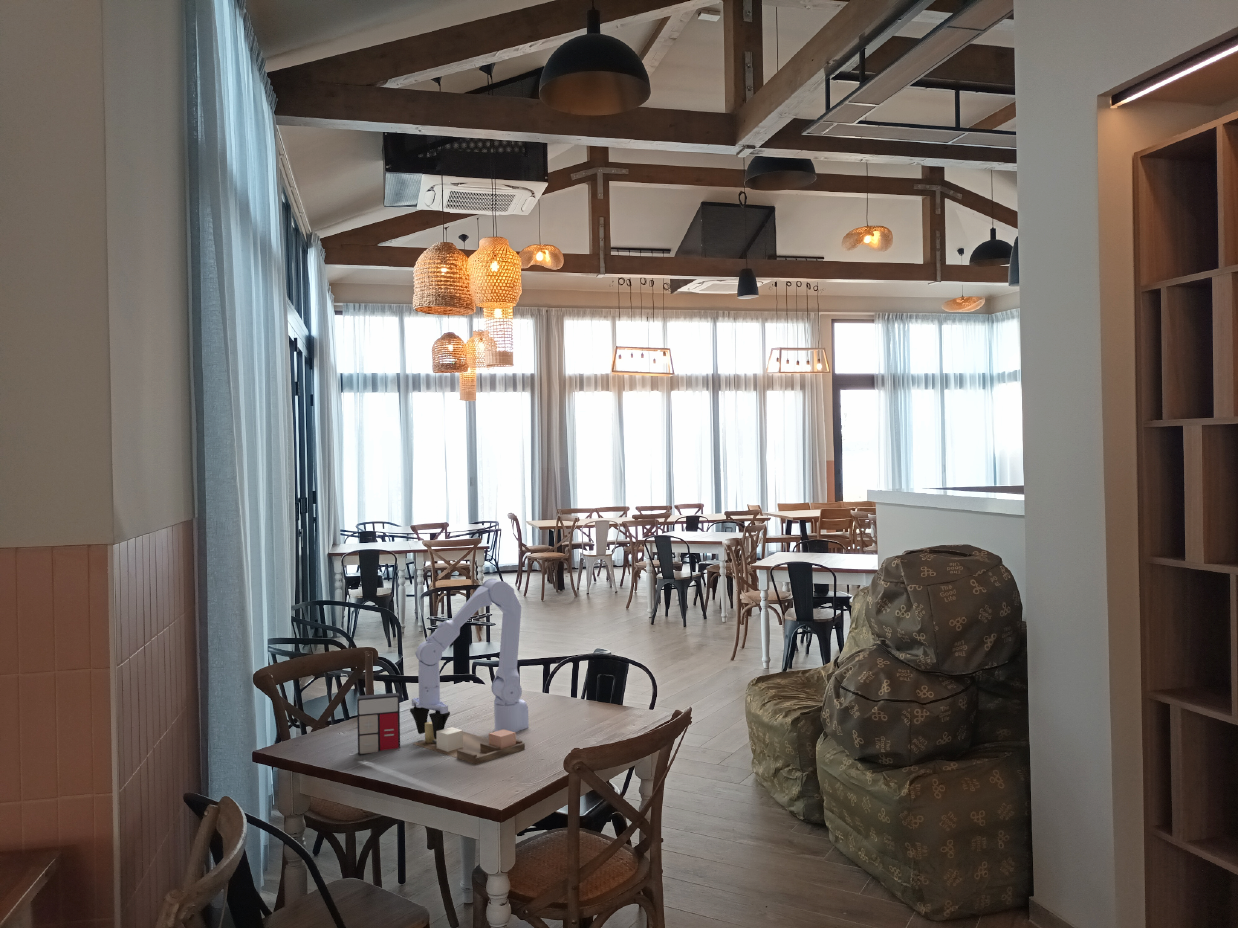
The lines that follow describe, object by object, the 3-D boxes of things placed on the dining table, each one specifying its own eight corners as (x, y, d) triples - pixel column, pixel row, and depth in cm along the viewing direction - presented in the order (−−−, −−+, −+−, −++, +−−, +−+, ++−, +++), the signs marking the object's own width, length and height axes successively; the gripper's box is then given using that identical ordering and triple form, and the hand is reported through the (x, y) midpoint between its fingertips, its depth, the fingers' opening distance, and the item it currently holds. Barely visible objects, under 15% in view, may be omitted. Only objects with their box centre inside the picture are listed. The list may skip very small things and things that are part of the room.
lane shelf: (460, 734, 251) (460, 723, 251) (524, 752, 231) (524, 741, 232) (413, 747, 239) (412, 736, 239) (476, 768, 220) (476, 756, 220)
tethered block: (435, 738, 244) (434, 720, 244) (463, 747, 235) (462, 728, 235) (419, 742, 240) (419, 724, 240) (447, 751, 231) (447, 732, 231)
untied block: (503, 745, 235) (503, 729, 235) (515, 749, 231) (515, 732, 231) (489, 750, 231) (488, 733, 231) (501, 754, 228) (500, 736, 228)
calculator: (357, 756, 232) (356, 699, 233) (358, 751, 236) (357, 695, 237) (400, 751, 235) (399, 695, 235) (400, 747, 239) (399, 692, 240)
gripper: (402, 684, 243) (402, 734, 243) (432, 692, 233) (433, 743, 233) (423, 680, 248) (424, 728, 248) (454, 687, 238) (455, 737, 238)
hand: (430, 735), depth 241 cm, fingers open, 7 cm apart
